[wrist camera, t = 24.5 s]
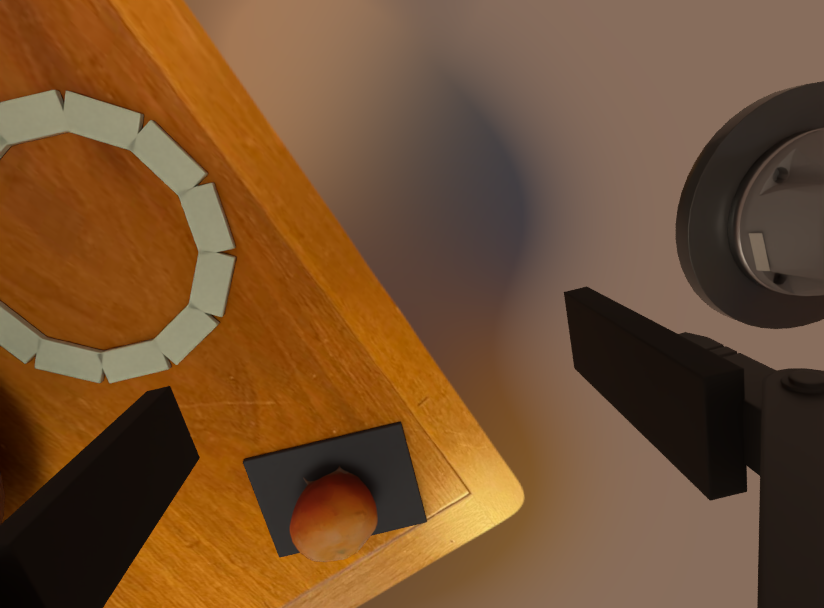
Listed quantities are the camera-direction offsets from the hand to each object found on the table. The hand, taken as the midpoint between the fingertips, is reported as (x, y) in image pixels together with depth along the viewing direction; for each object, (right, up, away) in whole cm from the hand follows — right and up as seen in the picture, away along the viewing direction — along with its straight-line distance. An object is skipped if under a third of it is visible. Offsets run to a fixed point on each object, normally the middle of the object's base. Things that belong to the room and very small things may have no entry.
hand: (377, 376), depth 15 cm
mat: (-6, -17, +32) cm, 37 cm away
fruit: (-6, -17, +32) cm, 37 cm away
